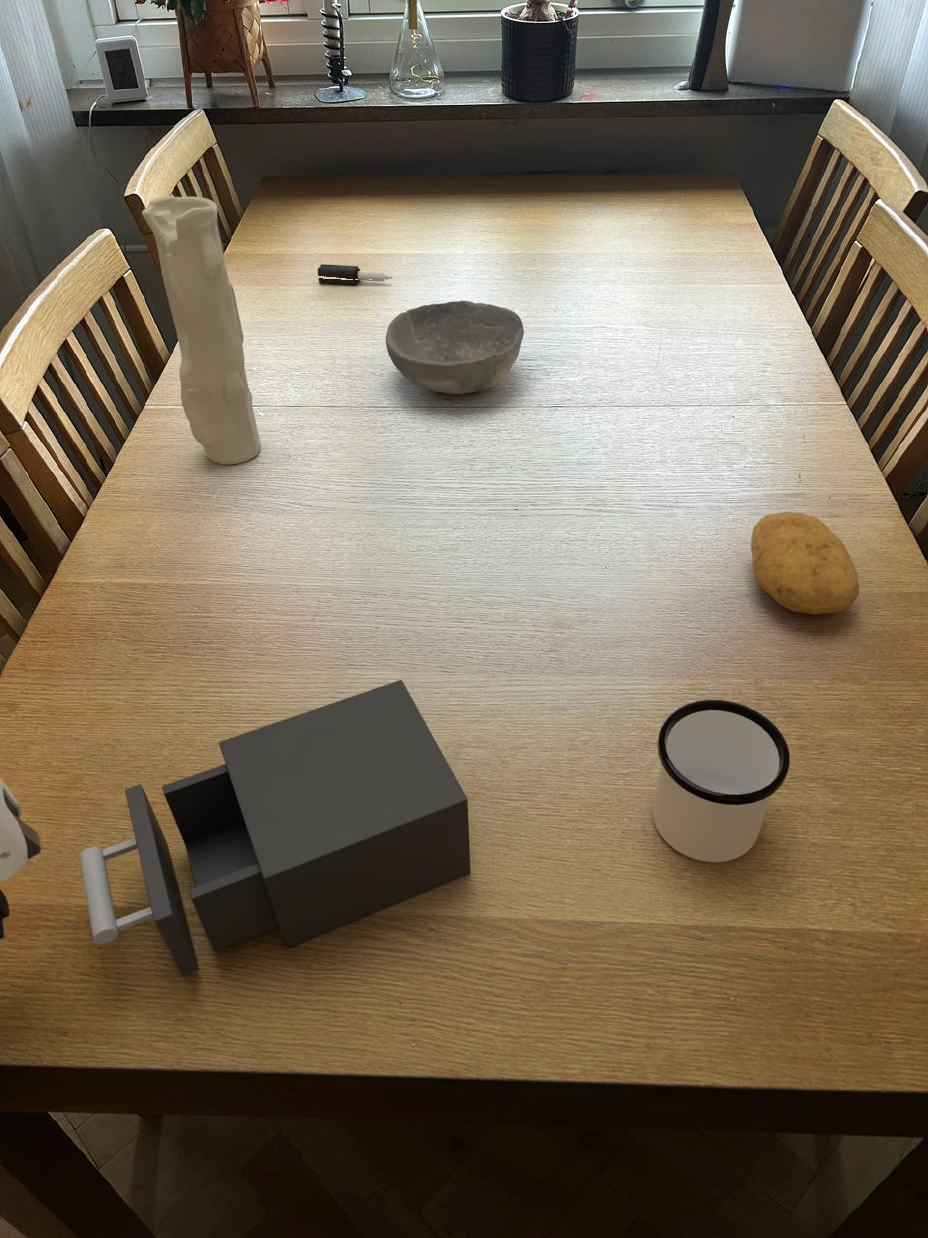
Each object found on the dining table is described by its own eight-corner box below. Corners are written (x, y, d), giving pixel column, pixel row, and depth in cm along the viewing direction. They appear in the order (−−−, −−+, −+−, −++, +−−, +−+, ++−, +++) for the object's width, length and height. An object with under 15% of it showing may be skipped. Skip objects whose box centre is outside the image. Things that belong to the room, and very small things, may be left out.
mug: (770, 878, 70) (797, 807, 64) (643, 862, 71) (657, 792, 65) (759, 753, 79) (781, 680, 72) (646, 741, 80) (658, 668, 74)
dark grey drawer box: (286, 950, 67) (263, 879, 60) (242, 816, 75) (218, 741, 69) (471, 873, 71) (468, 799, 64) (409, 755, 79) (401, 679, 73)
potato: (763, 635, 89) (778, 581, 84) (731, 551, 98) (743, 497, 93) (859, 631, 89) (880, 576, 84) (818, 547, 98) (834, 493, 93)
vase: (272, 463, 112) (221, 207, 92) (202, 478, 110) (133, 221, 90) (259, 427, 118) (208, 180, 98) (192, 441, 116) (125, 192, 96)
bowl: (362, 387, 125) (355, 331, 119) (448, 338, 134) (446, 284, 129) (463, 432, 116) (461, 373, 111) (548, 376, 126) (550, 320, 120)
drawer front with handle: (119, 1003, 63) (84, 948, 58) (95, 870, 71) (62, 810, 66) (365, 903, 68) (353, 843, 63) (317, 788, 76) (304, 726, 71)
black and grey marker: (319, 284, 149) (391, 288, 147) (317, 269, 148) (390, 273, 146) (323, 277, 151) (395, 281, 149) (321, 262, 149) (393, 266, 148)
